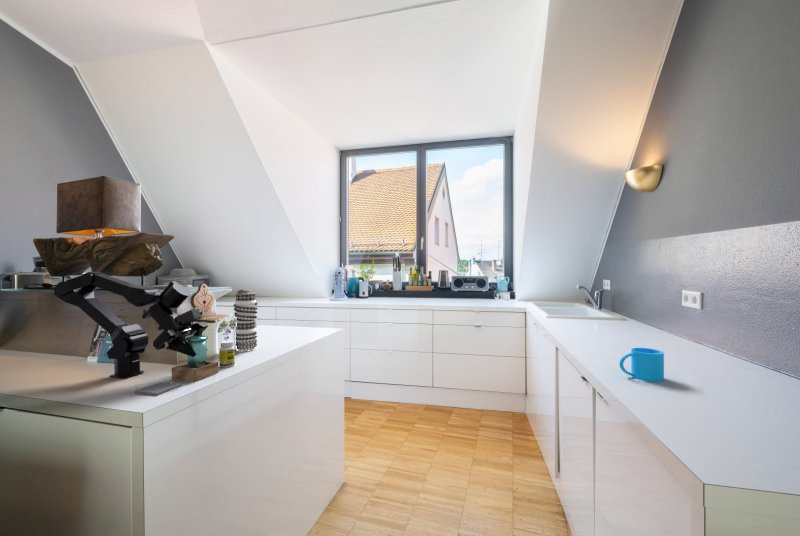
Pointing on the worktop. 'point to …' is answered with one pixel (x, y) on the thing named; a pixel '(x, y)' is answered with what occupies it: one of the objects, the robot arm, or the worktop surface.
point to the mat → (158, 388)
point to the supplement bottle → (226, 354)
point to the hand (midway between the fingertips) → (200, 353)
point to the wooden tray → (194, 372)
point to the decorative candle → (245, 319)
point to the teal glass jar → (197, 351)
